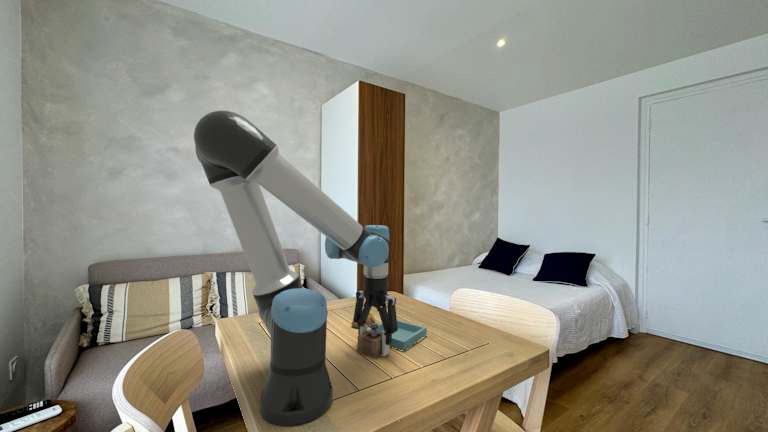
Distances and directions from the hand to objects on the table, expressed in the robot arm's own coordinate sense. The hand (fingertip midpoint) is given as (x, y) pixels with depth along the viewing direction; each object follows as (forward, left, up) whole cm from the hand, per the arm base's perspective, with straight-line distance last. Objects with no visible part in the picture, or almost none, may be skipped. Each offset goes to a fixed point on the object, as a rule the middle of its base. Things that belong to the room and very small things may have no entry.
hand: (374, 350), depth 89 cm
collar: (0, 0, 0) cm, 0 cm away
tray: (+13, 0, 0) cm, 13 cm away
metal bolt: (0, 0, 0) cm, 0 cm away
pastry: (+15, +17, -1) cm, 23 cm away
